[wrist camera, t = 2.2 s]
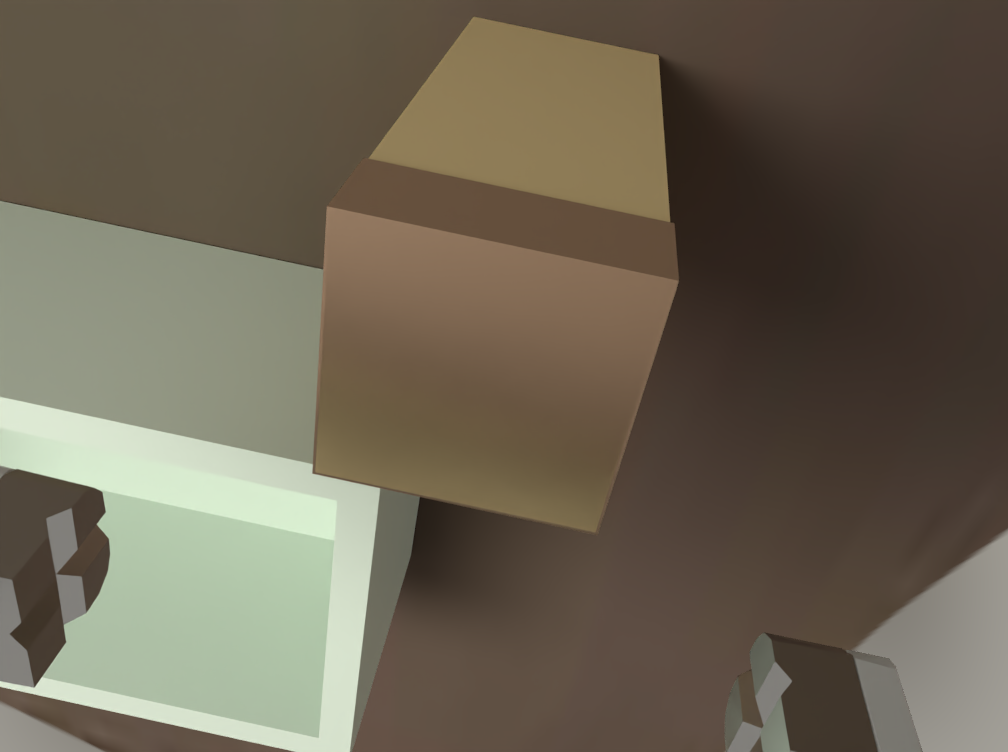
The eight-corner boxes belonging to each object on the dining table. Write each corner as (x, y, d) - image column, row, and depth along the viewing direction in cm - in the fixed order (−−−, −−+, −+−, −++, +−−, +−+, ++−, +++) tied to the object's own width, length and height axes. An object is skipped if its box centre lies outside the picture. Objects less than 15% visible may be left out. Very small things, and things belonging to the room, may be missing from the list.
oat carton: (472, 14, 23) (327, 206, 12) (660, 53, 23) (678, 281, 12) (447, 192, 26) (312, 473, 15) (615, 228, 26) (597, 535, 15)
